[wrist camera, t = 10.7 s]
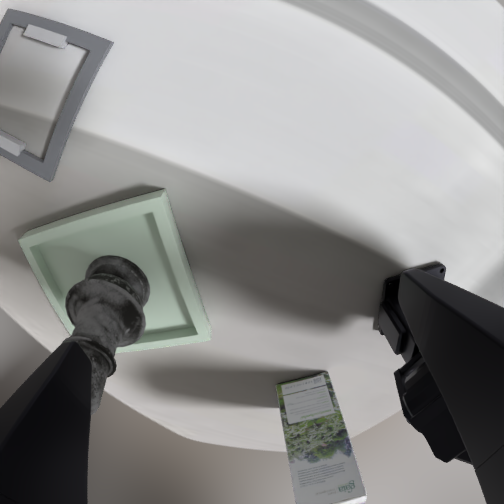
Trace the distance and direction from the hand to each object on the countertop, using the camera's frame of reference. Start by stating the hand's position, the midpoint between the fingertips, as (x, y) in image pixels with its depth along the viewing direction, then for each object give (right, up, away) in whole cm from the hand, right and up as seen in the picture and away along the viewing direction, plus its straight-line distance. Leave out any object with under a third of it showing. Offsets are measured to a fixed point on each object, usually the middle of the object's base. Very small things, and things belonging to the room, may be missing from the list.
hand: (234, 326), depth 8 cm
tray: (-10, 0, +14) cm, 18 cm away
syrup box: (+6, -13, +24) cm, 28 cm away
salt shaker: (-10, -1, +14) cm, 17 cm away
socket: (-15, +13, +7) cm, 20 cm away
